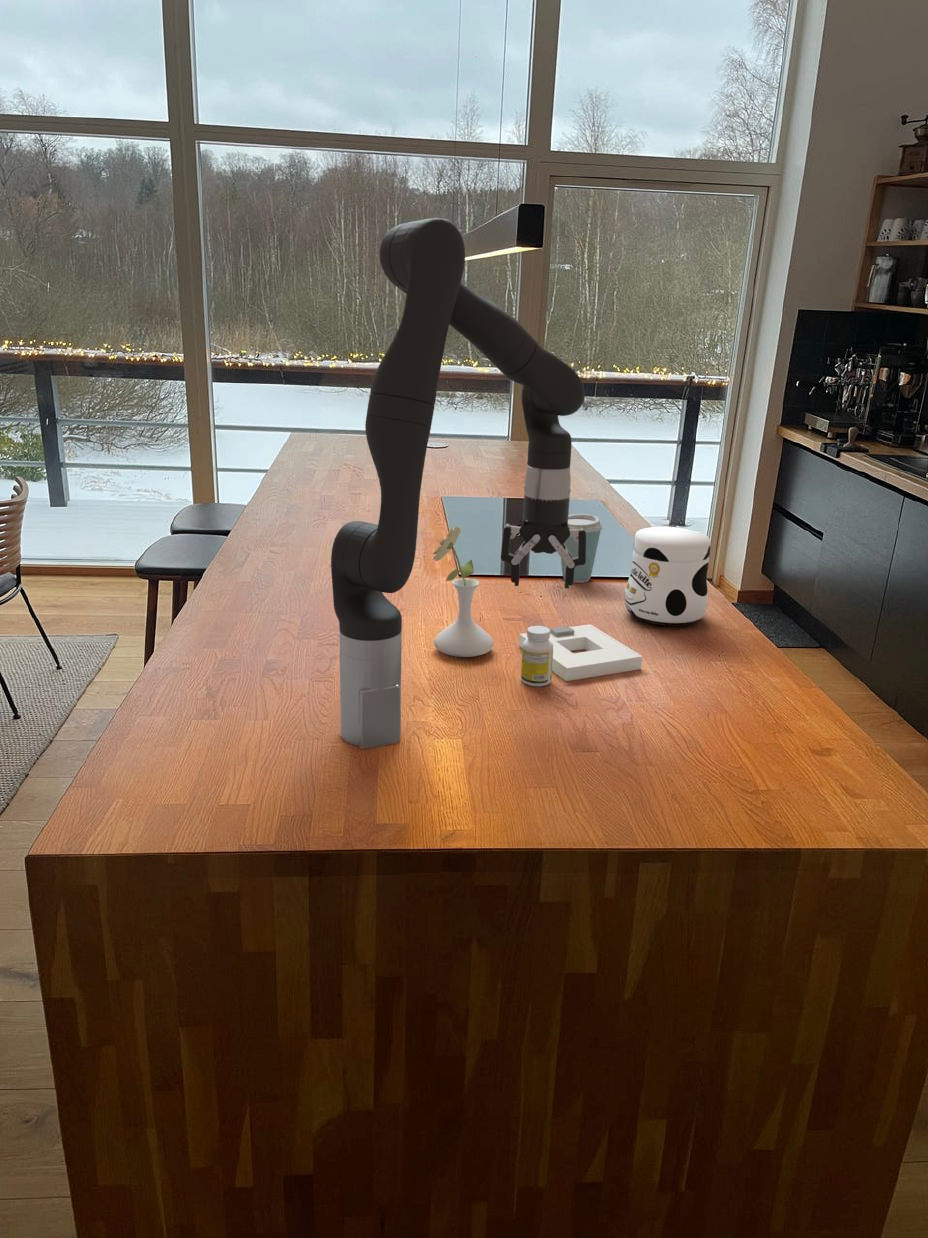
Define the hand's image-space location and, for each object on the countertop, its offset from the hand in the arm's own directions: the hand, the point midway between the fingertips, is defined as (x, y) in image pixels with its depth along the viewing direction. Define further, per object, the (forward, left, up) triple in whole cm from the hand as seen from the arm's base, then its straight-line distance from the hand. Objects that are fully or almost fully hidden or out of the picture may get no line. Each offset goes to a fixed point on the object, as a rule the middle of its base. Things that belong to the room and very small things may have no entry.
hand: (541, 586), depth 162 cm
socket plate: (+7, -13, -18) cm, 23 cm away
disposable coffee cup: (+50, -38, -18) cm, 65 cm away
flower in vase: (+17, +7, -18) cm, 26 cm away
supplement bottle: (0, 0, -18) cm, 18 cm away
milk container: (+20, -42, -18) cm, 50 cm away
